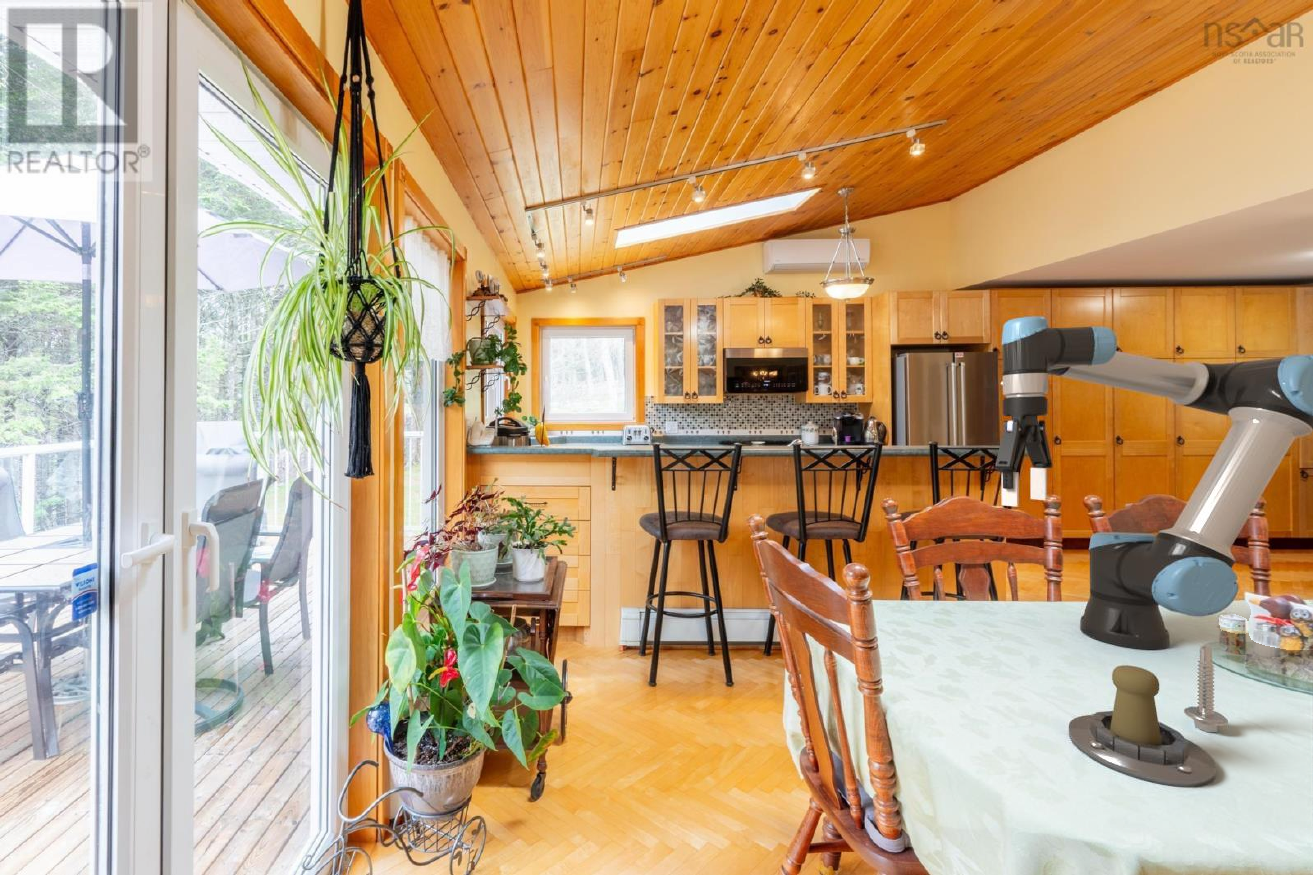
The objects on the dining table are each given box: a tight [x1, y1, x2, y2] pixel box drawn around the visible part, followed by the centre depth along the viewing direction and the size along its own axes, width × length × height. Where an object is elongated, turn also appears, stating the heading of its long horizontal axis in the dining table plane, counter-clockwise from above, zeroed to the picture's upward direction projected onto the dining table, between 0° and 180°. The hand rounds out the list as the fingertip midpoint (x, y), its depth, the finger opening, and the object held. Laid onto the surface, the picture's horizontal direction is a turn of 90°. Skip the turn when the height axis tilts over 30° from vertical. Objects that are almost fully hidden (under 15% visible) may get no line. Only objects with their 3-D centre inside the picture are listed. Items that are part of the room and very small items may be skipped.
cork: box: [1110, 664, 1162, 746], centre depth 80 cm, size 6×6×11 cm
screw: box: [1183, 645, 1229, 733], centre depth 87 cm, size 13×5×5 cm
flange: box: [1068, 710, 1216, 788], centre depth 81 cm, size 16×16×3 cm
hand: (1024, 502), depth 112 cm, fingers open, 13 cm apart
